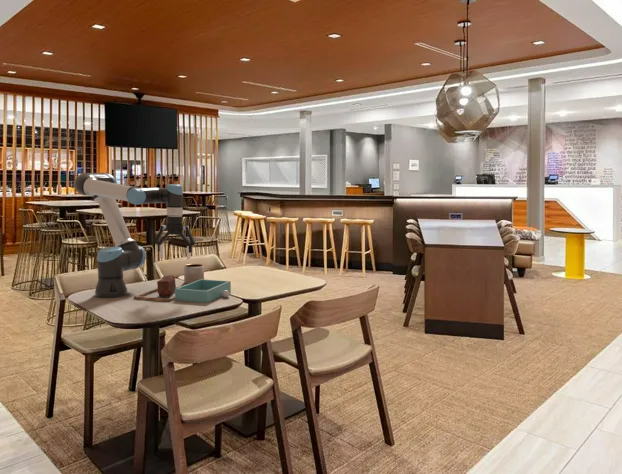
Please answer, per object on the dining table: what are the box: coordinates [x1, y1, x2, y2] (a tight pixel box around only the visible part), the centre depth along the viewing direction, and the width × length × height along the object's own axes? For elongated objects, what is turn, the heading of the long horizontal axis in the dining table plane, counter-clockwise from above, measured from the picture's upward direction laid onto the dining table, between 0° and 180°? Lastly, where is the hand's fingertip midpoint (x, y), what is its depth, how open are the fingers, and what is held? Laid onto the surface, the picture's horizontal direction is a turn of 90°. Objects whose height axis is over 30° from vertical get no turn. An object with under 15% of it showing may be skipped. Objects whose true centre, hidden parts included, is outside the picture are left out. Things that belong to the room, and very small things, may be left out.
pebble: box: [222, 290, 231, 298], centre depth 259 cm, size 4×4×4 cm
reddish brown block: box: [156, 274, 177, 297], centre depth 264 cm, size 18×6×9 cm, turn 5°
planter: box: [183, 263, 205, 285], centre depth 294 cm, size 11×11×10 cm
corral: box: [133, 286, 180, 303], centre depth 264 cm, size 19×25×1 cm
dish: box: [174, 278, 232, 303], centre depth 262 cm, size 17×25×5 cm
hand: (174, 258), depth 262 cm, fingers open, 13 cm apart
